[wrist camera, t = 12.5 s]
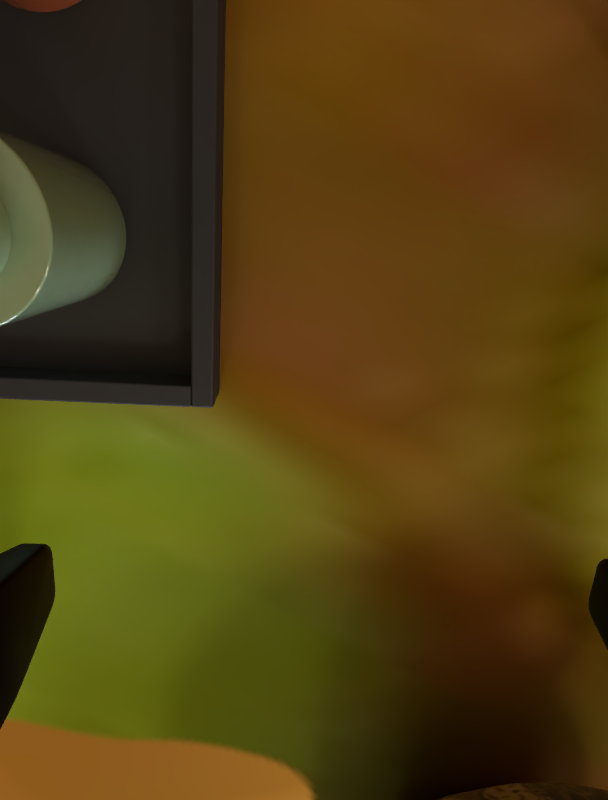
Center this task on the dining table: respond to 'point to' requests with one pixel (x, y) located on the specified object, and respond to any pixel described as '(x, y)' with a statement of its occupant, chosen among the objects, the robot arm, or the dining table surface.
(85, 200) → the green bottle
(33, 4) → the terracotta bottle
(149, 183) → the tray
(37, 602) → the robot arm
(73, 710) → the dining table surface
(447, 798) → the ceramic bowl
